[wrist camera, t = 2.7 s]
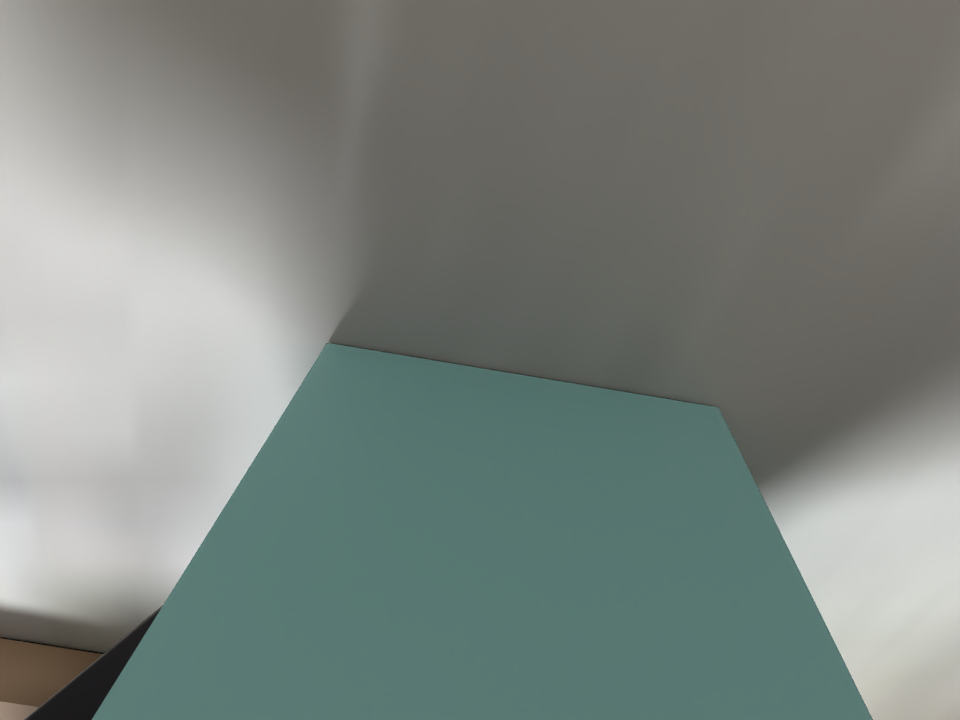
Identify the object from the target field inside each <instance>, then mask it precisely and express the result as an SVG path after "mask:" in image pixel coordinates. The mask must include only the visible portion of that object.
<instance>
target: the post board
mask: <svg viewBox="0 0 960 720" xmlns="http://www.w3.org/2000/svg"><path fill="white" fill-rule="evenodd" d="M102 655H103V654H98V653H91V652H85V651H78V650H72V649H66V648H59V647H53V646H47V645H40V644H34V643H27V642H21V641H15V640H8V639H2V638H0V720H24V719H25V718H27V717H28V716H29V715H30V714H31V713H33V712H34V711H35V710H36V709H37V708H39V707H40V706H41V705H42V704H44V703H45V702H46V701H47V700H48V699H50V698H51V697H52V696H53V695H54V694H56V693H57V692H58V691H59V690H61V689H62V688H63V687H64V686H65V685H67V684H68V683H69V682H70V681H72V680H73V679H74V678H75V677H76V676H78V675H79V674H80V673H81V672H82V671H84V670H85V669H86V668H87V667H89V666H90V665H91V664H92V663H93V662H95V661H96V660H97V659H98V658H100V657H101V656H102Z"/></svg>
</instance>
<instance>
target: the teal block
mask: <svg viewBox="0 0 960 720" xmlns="http://www.w3.org/2000/svg"><path fill="white" fill-rule="evenodd" d="M92 720H873V719H872V717H871V715H870V713H869V711H868V709H867V707H866V705H865V703H864V701H863V699H862V697H861V695H860V693H859V691H858V689H857V687H856V685H855V683H854V681H853V679H852V677H851V675H850V673H849V671H848V669H847V667H846V665H845V663H844V660H843V658H842V656H841V654H840V652H839V650H838V648H837V646H836V644H835V642H834V640H833V638H832V636H831V634H830V632H829V630H828V628H827V626H826V624H825V622H824V620H823V618H822V616H821V614H820V612H819V610H818V608H817V606H816V604H815V602H814V600H813V598H812V596H811V594H810V592H809V590H808V588H807V586H806V584H805V582H804V580H803V577H802V575H801V573H800V571H799V569H798V567H797V565H796V563H795V561H794V559H793V557H792V555H791V553H790V551H789V549H788V547H787V545H786V543H785V541H784V539H783V537H782V535H781V533H780V531H779V529H778V527H777V525H776V523H775V521H774V519H773V517H772V515H771V513H770V511H769V509H768V507H767V505H766V503H765V501H764V499H763V497H762V494H761V492H760V490H759V488H758V486H757V484H756V482H755V480H754V478H753V476H752V474H751V472H750V470H749V468H748V466H747V464H746V462H745V460H744V458H743V456H742V454H741V452H740V450H739V448H738V446H737V444H736V442H735V440H734V438H733V436H732V434H731V432H730V430H729V428H728V426H727V424H726V422H725V420H724V418H723V416H722V414H721V411H720V409H719V407H713V406H707V405H701V404H695V403H689V402H683V401H677V400H671V399H665V398H659V397H653V396H647V395H641V394H635V393H629V392H622V391H616V390H610V389H604V388H598V387H592V386H586V385H580V384H574V383H568V382H562V381H556V380H550V379H544V378H538V377H532V376H525V375H519V374H513V373H507V372H501V371H495V370H489V369H483V368H477V367H471V366H465V365H459V364H453V363H447V362H441V361H434V360H428V359H422V358H416V357H410V356H404V355H398V354H392V353H386V352H380V351H374V350H368V349H362V348H356V347H350V346H344V345H337V344H331V343H327V344H326V346H325V347H324V349H323V351H322V352H321V354H320V355H319V357H318V359H317V360H316V362H315V363H314V365H313V367H312V368H311V370H310V371H309V373H308V375H307V376H306V378H305V379H304V381H303V383H302V384H301V386H300V387H299V389H298V391H297V392H296V394H295V395H294V397H293V399H292V400H291V402H290V403H289V405H288V407H287V408H286V410H285V411H284V413H283V415H282V416H281V418H280V419H279V421H278V423H277V424H276V426H275V427H274V429H273V431H272V432H271V434H270V435H269V437H268V439H267V440H266V442H265V443H264V445H263V447H262V448H261V450H260V451H259V453H258V455H257V456H256V458H255V459H254V461H253V463H252V464H251V466H250V467H249V469H248V471H247V472H246V474H245V475H244V477H243V479H242V480H241V482H240V483H239V485H238V487H237V488H236V490H235V491H234V493H233V495H232V496H231V498H230V499H229V501H228V503H227V504H226V506H225V507H224V509H223V511H222V512H221V514H220V515H219V517H218V519H217V520H216V522H215V523H214V525H213V527H212V528H211V530H210V531H209V533H208V535H207V536H206V538H205V539H204V541H203V543H202V544H201V546H200V547H199V549H198V551H197V552H196V554H195V555H194V557H193V559H192V560H191V562H190V563H189V565H188V567H187V568H186V570H185V571H184V573H183V575H182V576H181V578H180V579H179V581H178V583H177V584H176V586H175V587H174V589H173V591H172V592H171V594H170V595H169V597H168V599H167V600H166V602H165V603H164V605H163V607H162V608H161V610H160V611H159V613H158V615H157V616H156V618H155V619H154V621H153V623H152V624H151V626H150V627H149V629H148V631H147V632H146V634H145V635H144V637H143V639H142V640H141V642H140V643H139V645H138V647H137V648H136V650H135V651H134V653H133V655H132V656H131V658H130V659H129V661H128V663H127V664H126V666H125V667H124V669H123V671H122V672H121V674H120V675H119V677H118V678H117V680H116V682H115V683H114V685H113V687H112V688H111V690H110V691H109V693H108V694H107V696H106V698H105V699H104V701H103V702H102V704H101V706H100V707H99V709H98V710H97V712H96V714H95V715H94V717H93V718H92Z"/></svg>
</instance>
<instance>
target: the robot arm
mask: <svg viewBox="0 0 960 720" xmlns="http://www.w3.org/2000/svg"><path fill="white" fill-rule="evenodd" d="M162 607H163V606H162ZM162 607H160V608H159V609H158V610H157V611H156V612H154V613H153V614H152V615H151V616H149V617H148V618H147V619H146V620H145V621H143V622H142V623H141V624H140V625H138V626H137V627H136V628H135V629H134V630H132V631H131V632H130V633H129V634H128V635H126V636H125V637H124V638H123V639H121V640H120V641H119V642H118V643H117V644H115V645H114V646H113V647H112V648H110V649H109V650H108V651H107V652H106V653H104V654H103V655H102V656H101V657H100V658H98V659H97V660H96V661H95V662H93V663H92V664H91V665H90V666H89V667H87V668H86V669H85V670H84V671H82V672H81V673H80V674H79V675H78V676H76V677H75V678H74V679H73V680H72V681H70V682H69V683H68V684H67V685H65V686H64V687H63V688H62V689H61V690H59V691H58V692H57V693H56V694H54V695H53V696H52V697H51V698H50V699H48V700H47V701H46V702H45V703H44V704H42V705H41V706H40V707H39V708H37V709H36V710H35V711H34V712H33V713H31V714H30V715H29V716H28V717H27V718H25V719H24V720H92V718H93V717H94V715H95V714H96V712H97V710H98V709H99V707H100V706H101V704H102V702H103V701H104V699H105V698H106V696H107V694H108V693H109V691H110V690H111V688H112V687H113V685H114V683H115V682H116V680H117V678H118V677H119V675H120V674H121V672H122V671H123V669H124V667H125V666H126V664H127V663H128V661H129V659H130V658H131V656H132V655H133V653H134V651H135V650H136V648H137V647H138V645H139V643H140V642H141V640H142V639H143V637H144V635H145V634H146V632H147V631H148V629H149V627H150V626H151V624H152V623H153V621H154V619H155V618H156V616H157V615H158V613H159V611H160V610H161V608H162Z"/></svg>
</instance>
